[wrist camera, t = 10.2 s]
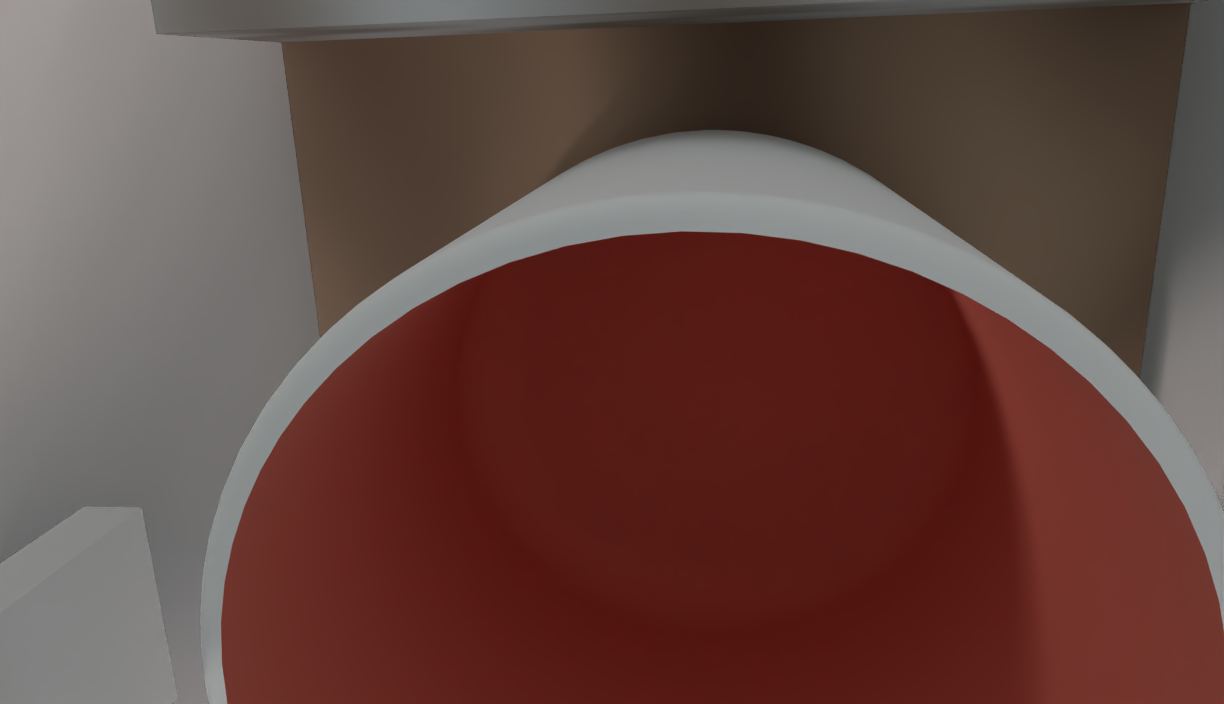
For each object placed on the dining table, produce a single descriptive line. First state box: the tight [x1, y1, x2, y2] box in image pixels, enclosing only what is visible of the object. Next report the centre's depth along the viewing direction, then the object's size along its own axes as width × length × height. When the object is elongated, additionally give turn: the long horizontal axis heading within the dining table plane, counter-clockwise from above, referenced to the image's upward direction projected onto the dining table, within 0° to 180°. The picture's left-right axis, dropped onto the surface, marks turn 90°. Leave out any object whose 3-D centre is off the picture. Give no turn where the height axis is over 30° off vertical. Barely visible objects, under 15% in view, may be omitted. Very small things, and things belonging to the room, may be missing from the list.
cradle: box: [151, 0, 1206, 379], centre depth 17 cm, size 16×16×5 cm
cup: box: [200, 130, 1224, 704], centre depth 13 cm, size 10×10×10 cm
